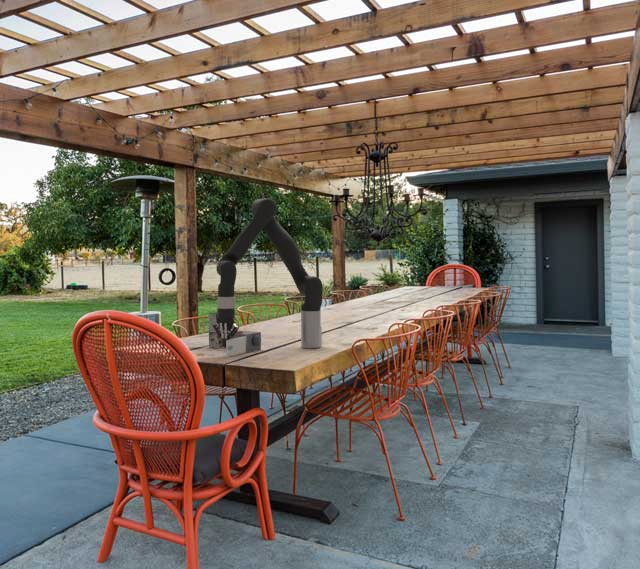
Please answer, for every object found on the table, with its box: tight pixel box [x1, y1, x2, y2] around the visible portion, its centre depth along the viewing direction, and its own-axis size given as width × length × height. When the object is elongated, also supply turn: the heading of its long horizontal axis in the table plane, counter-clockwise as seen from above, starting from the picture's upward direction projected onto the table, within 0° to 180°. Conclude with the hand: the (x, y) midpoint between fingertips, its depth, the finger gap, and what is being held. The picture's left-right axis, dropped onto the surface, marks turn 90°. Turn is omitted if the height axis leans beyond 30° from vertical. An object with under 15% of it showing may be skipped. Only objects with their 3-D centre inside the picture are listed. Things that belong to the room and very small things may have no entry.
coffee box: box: [208, 312, 224, 349], centre depth 266 cm, size 9×6×16 cm
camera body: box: [230, 330, 262, 353], centre depth 256 cm, size 10×11×9 cm
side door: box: [225, 336, 248, 358], centre depth 243 cm, size 2×13×7 cm, turn 149°
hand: (225, 347), depth 242 cm, fingers closed
